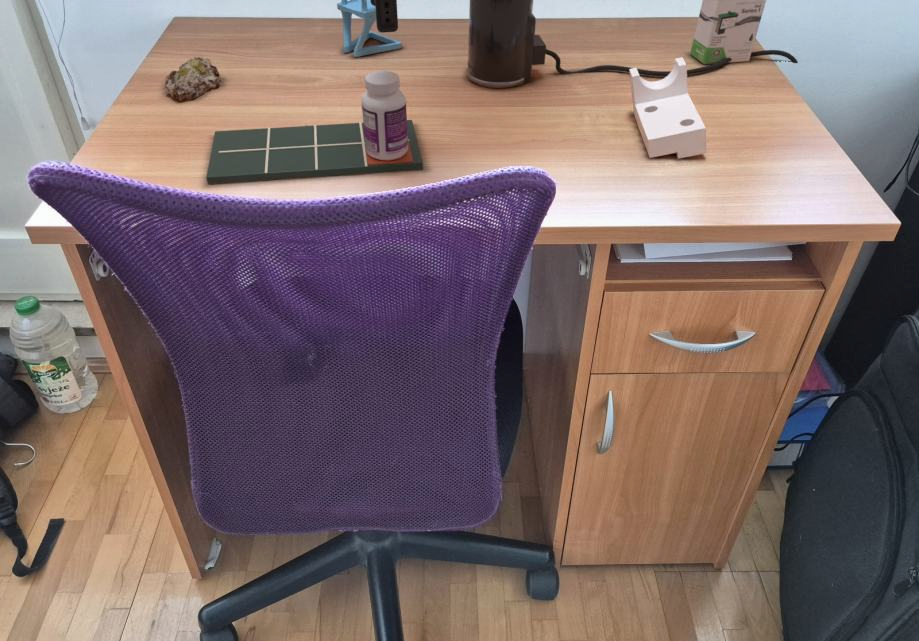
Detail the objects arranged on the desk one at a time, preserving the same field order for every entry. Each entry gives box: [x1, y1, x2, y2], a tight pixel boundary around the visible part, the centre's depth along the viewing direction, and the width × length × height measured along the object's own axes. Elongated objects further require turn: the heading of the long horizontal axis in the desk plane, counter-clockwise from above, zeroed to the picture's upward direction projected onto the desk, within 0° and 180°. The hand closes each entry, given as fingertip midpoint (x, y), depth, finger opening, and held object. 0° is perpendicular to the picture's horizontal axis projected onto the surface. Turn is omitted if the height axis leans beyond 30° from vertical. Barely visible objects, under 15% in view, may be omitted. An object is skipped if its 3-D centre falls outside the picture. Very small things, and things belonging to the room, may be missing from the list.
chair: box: [336, 0, 402, 58], centre depth 116 cm, size 8×8×12 cm
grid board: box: [205, 119, 424, 185], centre depth 93 cm, size 26×12×1 cm, turn 99°
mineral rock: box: [164, 56, 221, 102], centre depth 107 cm, size 11×4×8 cm
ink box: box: [689, 0, 767, 65], centre depth 116 cm, size 9×5×12 cm, turn 103°
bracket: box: [628, 56, 707, 160], centre depth 96 cm, size 13×7×8 cm, turn 179°
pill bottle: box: [361, 70, 408, 160], centre depth 88 cm, size 5×5×10 cm
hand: (383, 17), depth 80 cm, fingers open, 8 cm apart
